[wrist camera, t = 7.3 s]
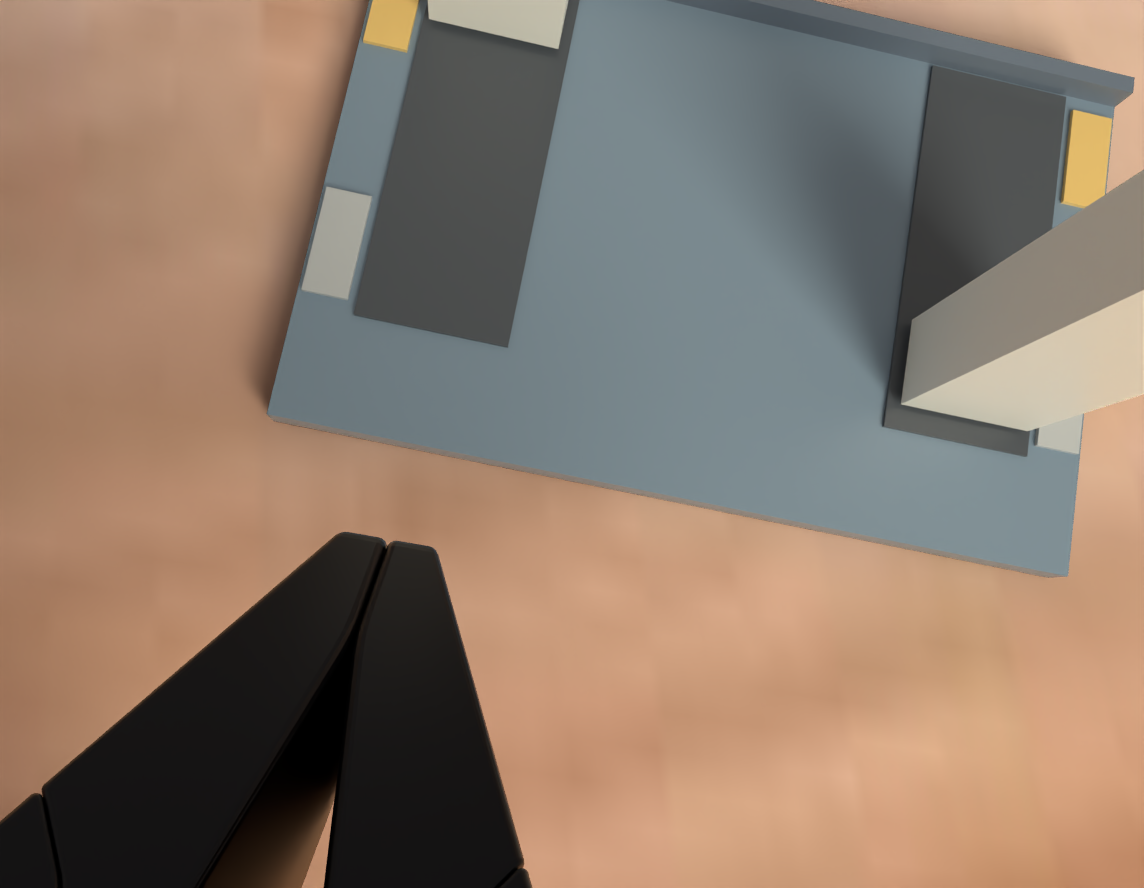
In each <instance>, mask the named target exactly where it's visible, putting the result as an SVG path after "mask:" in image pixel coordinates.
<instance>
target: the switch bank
mask: <svg viewBox="0 0 1144 888" xmlns="http://www.w3.org/2000/svg"><path fill="white" fill-rule="evenodd" d="M1133 88H1134V77H1130V76H1125V75H1121V74H1117V73H1113V72H1109V71H1105V70H1100V69H1096V68H1092V67H1088V66H1084V65H1080V64H1076V63H1071V62H1067V61H1063V60H1059V59H1055V58H1051V57H1046V56H1042V55H1038V54H1034V53H1030V52H1026V51H1022V50H1017V49H1013V48H1009V47H1005V46H1001V45H997V44H992V43H988V42H984V41H980V40H976V39H972V38H968V37H963V36H959V35H955V34H951V33H947V32H943V31H938V30H934V29H930V28H926V27H922V26H918V25H914V24H909V23H905V22H901V21H897V20H893V19H889V18H884V17H880V16H876V15H872V14H868V13H864V12H860V11H855V10H851V9H847V8H843V7H839V6H835V5H831V4H826V3H822V2H818V1H814V0H568V5H567V10H566V15H565V20H564V24H563V29H562V34H561V39H560V43H559V48H558V49H555V48H551V47H547V46H542V45H538V44H534V43H530V42H525V41H521V40H517V39H512V38H508V37H504V36H500V35H495V34H491V33H487V32H482V31H478V30H474V29H469V28H465V27H461V26H457V25H452V24H448V23H444V22H439V21H435V20H431V19H429V14H428V0H369V4H368V8H367V12H366V16H365V20H364V24H363V28H362V32H361V36H360V40H359V44H358V48H357V52H356V56H355V60H354V64H353V68H352V72H351V77H350V81H349V85H348V89H347V93H346V97H345V101H344V105H343V109H342V113H341V117H340V121H339V125H338V129H337V133H336V137H335V141H334V145H333V149H332V153H331V157H330V161H329V165H328V169H327V173H326V177H325V181H324V185H323V189H322V193H321V197H320V201H319V205H318V209H317V213H316V217H315V222H314V226H313V230H312V234H311V238H310V242H309V246H308V250H307V254H306V258H305V262H304V266H303V270H302V274H301V278H300V282H299V286H298V290H297V294H296V298H295V302H294V306H293V310H292V314H291V318H290V322H289V326H288V330H287V334H286V338H285V342H284V346H283V350H282V354H281V358H280V362H279V367H278V371H277V375H276V379H275V383H274V387H273V391H272V395H271V399H270V403H269V407H268V411H267V415H268V416H269V417H270V418H271V419H272V420H273V421H276V422H281V423H286V424H291V425H296V426H301V427H306V428H311V429H316V430H321V431H326V432H330V433H335V434H340V435H345V436H350V437H355V438H360V439H365V440H370V441H375V442H380V443H385V444H390V445H395V446H400V447H405V448H410V449H415V450H419V451H424V452H429V453H434V454H439V455H444V456H449V457H454V458H459V459H464V460H469V461H474V462H479V463H484V464H489V465H494V466H499V467H504V468H509V469H513V470H518V471H523V472H528V473H533V474H538V475H543V476H548V477H553V478H558V479H563V480H568V481H573V482H578V483H583V484H588V485H593V486H598V487H602V488H607V489H612V490H617V491H622V492H627V493H632V494H637V495H642V496H647V497H652V498H657V499H662V500H667V501H672V502H677V503H682V504H687V505H691V506H696V507H701V508H706V509H711V510H716V511H721V512H726V513H731V514H736V515H741V516H746V517H751V518H756V519H761V520H766V521H771V522H776V523H780V524H785V525H790V526H795V527H800V528H805V529H810V530H815V531H820V532H825V533H830V534H835V535H840V536H845V537H850V538H855V539H860V540H865V541H869V542H874V543H879V544H884V545H889V546H894V547H899V548H904V549H909V550H914V551H919V552H924V553H929V554H934V555H939V556H944V557H949V558H954V559H958V560H963V561H968V562H973V563H978V564H983V565H988V566H993V567H998V568H1003V569H1008V570H1013V571H1018V572H1023V573H1028V574H1033V575H1038V576H1043V577H1048V578H1049V577H1067V576H1068V570H1069V560H1070V550H1071V540H1072V530H1073V520H1074V510H1075V500H1076V490H1077V480H1078V470H1079V460H1080V449H1081V439H1082V429H1083V419H1084V414H1081V415H1077V416H1074V417H1071V418H1068V419H1065V420H1062V421H1058V422H1055V423H1052V424H1049V425H1046V426H1043V427H1040V428H1036V429H1033V430H1030V431H1024V430H1019V429H1015V428H1010V427H1005V426H1001V425H996V424H991V423H986V422H982V421H977V420H972V419H968V418H963V417H958V416H954V415H949V414H944V413H939V412H935V411H930V410H925V409H921V408H916V407H911V406H907V405H902V404H901V399H902V392H903V384H904V377H905V369H906V362H907V354H908V346H909V339H910V331H911V324H912V319H914V318H916V317H917V316H919V315H920V314H922V313H923V312H925V311H926V310H928V309H929V308H931V307H933V306H934V305H936V304H937V303H939V302H940V301H942V300H943V299H945V298H946V297H948V296H950V295H951V294H953V293H954V292H956V291H957V290H959V289H960V288H962V287H963V286H965V285H966V284H968V283H970V282H971V281H973V280H974V279H976V278H977V277H979V276H980V275H982V274H983V273H985V272H987V271H988V270H990V269H991V268H993V267H994V266H996V265H997V264H999V263H1000V262H1002V261H1004V260H1005V259H1007V258H1008V257H1010V256H1011V255H1013V254H1014V253H1016V252H1017V251H1019V250H1021V249H1022V248H1024V247H1025V246H1027V245H1028V244H1030V243H1031V242H1033V241H1034V240H1036V239H1037V238H1039V237H1041V236H1042V235H1044V234H1045V233H1047V232H1048V231H1050V230H1051V229H1053V228H1054V227H1056V226H1058V225H1059V224H1061V223H1062V222H1064V221H1065V220H1067V219H1068V218H1070V217H1071V216H1073V215H1075V214H1076V213H1078V212H1079V211H1081V210H1082V209H1084V208H1085V207H1087V206H1088V205H1090V204H1091V203H1093V202H1095V201H1096V200H1098V199H1099V198H1101V197H1102V196H1104V195H1105V194H1106V188H1107V177H1108V167H1109V157H1110V147H1111V137H1112V127H1113V117H1114V107H1115V106H1117V105H1118V104H1119V103H1121V102H1122V101H1123V100H1124V99H1126V98H1127V97H1128V96H1130V95H1131V94H1132V93H1133Z"/></svg>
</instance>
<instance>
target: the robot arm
mask: <svg viewBox="0 0 1144 888" xmlns="http://www.w3.org/2000/svg"><path fill="white" fill-rule="evenodd" d="M42 796H43V797H42ZM334 798H335V799H334ZM333 801H334V807H333V815H332V824H331V832H330V840H329V848H328V857H327V865H326V873H325V882H324V888H532V885H531V881H530V878H529V874H528V872H527V870H525V869H523V866H524V858H523V855H522V851H521V848H520V844H519V841H518V837H517V834H516V830H515V826H514V823H513V819H512V816H511V812H510V809H509V805H508V802H507V798H506V794H505V791H504V787H503V784H502V780H501V777H500V773H499V770H498V766H497V762H496V759H495V755H494V752H493V748H492V745H491V741H490V738H489V734H488V730H487V727H486V723H485V720H484V716H483V713H482V709H481V706H480V702H479V698H478V695H477V691H476V688H475V684H474V681H473V677H472V674H471V670H470V666H469V663H468V659H467V656H466V652H465V649H464V645H463V642H462V638H461V634H460V631H459V627H458V624H457V620H456V617H455V613H454V609H453V606H452V602H451V599H450V595H449V592H448V588H447V585H446V581H445V577H444V574H443V570H442V567H441V563H440V560H439V556H438V554H437V552H436V550H435V549H433V548H432V547H429V546H424V545H418V544H413V543H407V542H401V541H393V542H391V543H390V544H389V545H388V546H387V545H386V542H385V541H384V540H383V539H382V538H378V537H373V536H367V535H361V534H356V533H350V532H342V533H339V534H337V535H335V536H334V537H333V538H332V539H331V540H329V541H328V542H327V543H326V544H325V545H324V546H322V547H321V548H320V549H319V550H318V551H317V552H315V553H314V554H313V555H312V556H311V557H310V558H308V559H307V560H306V561H305V562H304V563H303V564H301V565H300V566H299V567H298V568H297V569H296V570H294V571H293V572H292V573H291V574H290V575H289V576H287V577H286V578H285V579H284V580H283V581H282V582H280V583H279V584H278V585H277V586H276V587H275V588H273V589H272V590H271V591H270V592H269V593H268V594H266V595H265V596H264V597H263V598H262V599H261V600H259V601H258V602H257V603H256V604H255V605H254V606H252V607H251V608H250V609H249V610H248V611H247V612H245V613H244V614H243V615H242V616H241V617H239V618H238V619H237V620H236V621H235V622H234V623H232V624H231V625H230V626H229V627H228V628H227V629H225V630H224V631H223V632H222V633H221V634H220V635H218V636H217V637H216V638H215V639H214V640H213V641H211V642H210V643H209V644H208V645H207V646H206V647H204V648H203V649H202V650H201V651H200V652H199V653H197V654H196V655H195V656H194V657H193V658H192V659H190V660H189V661H188V662H187V663H186V664H185V665H183V666H182V667H181V668H180V669H179V670H178V671H176V672H175V673H174V674H173V675H172V676H171V677H169V678H168V679H167V680H166V681H165V682H164V683H162V684H161V685H160V686H159V687H158V688H157V689H155V690H154V691H153V692H152V693H151V694H150V695H148V696H147V697H146V698H145V699H144V700H142V701H141V702H140V703H139V704H138V705H137V706H135V707H134V708H133V709H132V710H131V711H130V712H128V713H127V714H126V715H125V716H124V717H123V718H121V719H120V720H119V721H118V722H117V723H116V724H114V725H113V726H112V727H111V728H110V729H109V730H107V731H106V732H105V733H104V734H103V735H102V736H100V737H99V738H98V739H97V740H96V741H95V742H93V743H92V744H91V745H90V746H89V747H88V748H86V749H85V750H84V751H83V752H82V753H81V754H79V755H78V756H77V757H76V758H75V759H73V760H72V761H71V762H70V763H69V764H68V765H66V766H65V767H64V768H63V769H62V770H61V771H59V772H58V773H57V774H56V775H55V776H54V777H52V778H51V779H50V780H49V781H48V782H47V783H45V784H44V785H43V787H42V795H41V794H38V793H34V794H32V795H30V796H29V797H28V798H27V799H26V800H25V801H24V802H22V803H21V804H20V805H19V806H18V807H17V808H15V809H14V810H13V811H12V812H11V813H10V814H9V815H7V816H6V817H5V818H4V819H3V820H2V821H0V888H301V887H302V885H303V882H304V879H305V877H306V874H307V871H308V869H309V866H310V863H311V861H312V858H313V855H314V853H315V850H316V847H317V845H318V842H319V839H320V837H321V834H322V831H323V829H324V826H325V823H326V821H327V818H328V815H329V813H330V810H331V807H332V804H333Z"/></svg>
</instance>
